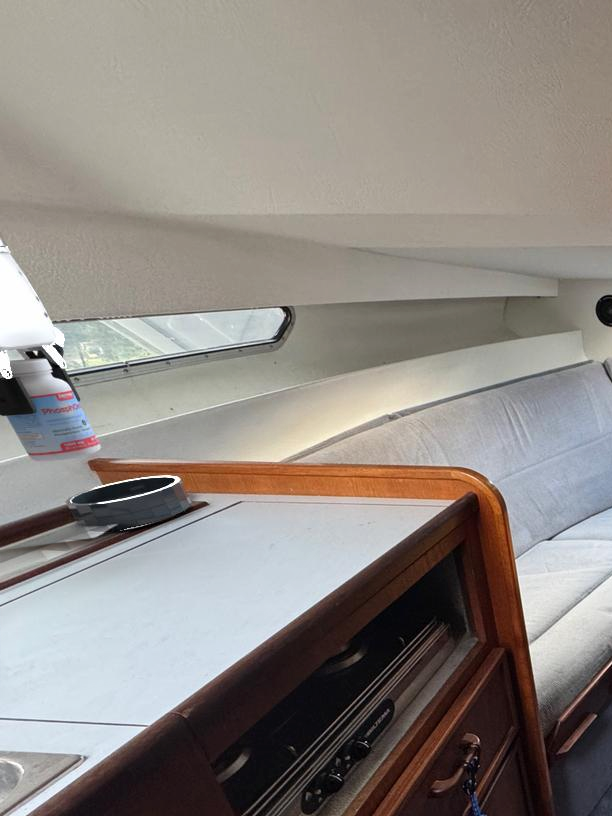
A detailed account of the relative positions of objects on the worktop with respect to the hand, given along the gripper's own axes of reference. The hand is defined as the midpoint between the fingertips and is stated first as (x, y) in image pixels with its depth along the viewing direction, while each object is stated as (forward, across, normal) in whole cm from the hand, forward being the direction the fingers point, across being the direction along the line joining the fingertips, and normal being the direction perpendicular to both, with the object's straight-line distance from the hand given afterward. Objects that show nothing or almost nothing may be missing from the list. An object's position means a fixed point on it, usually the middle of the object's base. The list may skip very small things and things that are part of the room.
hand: (42, 406), depth 67 cm
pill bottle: (+6, 0, 0) cm, 6 cm away
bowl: (+21, -20, -9) cm, 30 cm away
